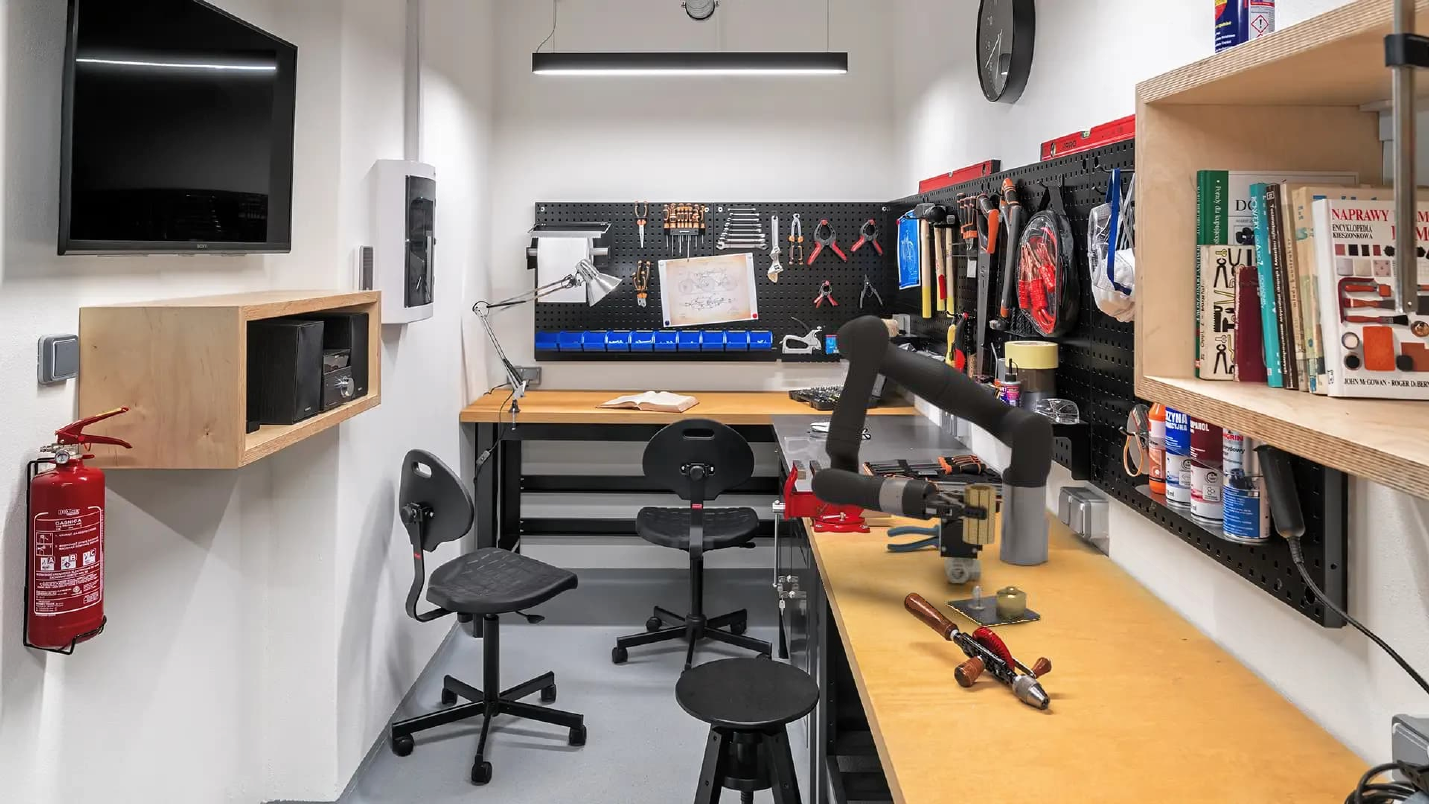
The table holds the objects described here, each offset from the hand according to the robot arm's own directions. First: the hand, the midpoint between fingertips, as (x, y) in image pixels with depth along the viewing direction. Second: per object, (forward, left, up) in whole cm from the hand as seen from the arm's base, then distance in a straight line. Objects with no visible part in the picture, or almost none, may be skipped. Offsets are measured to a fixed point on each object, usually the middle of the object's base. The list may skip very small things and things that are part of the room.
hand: (992, 510), depth 172 cm
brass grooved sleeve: (+1, -2, -6) cm, 7 cm away
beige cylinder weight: (-2, +3, -20) cm, 20 cm away
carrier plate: (-1, -1, -20) cm, 20 cm away
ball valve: (-6, -20, -20) cm, 29 cm away
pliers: (-11, -40, -20) cm, 46 cm away
